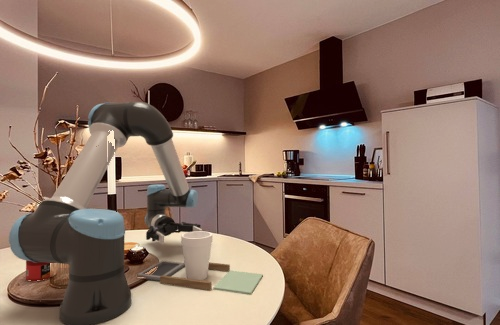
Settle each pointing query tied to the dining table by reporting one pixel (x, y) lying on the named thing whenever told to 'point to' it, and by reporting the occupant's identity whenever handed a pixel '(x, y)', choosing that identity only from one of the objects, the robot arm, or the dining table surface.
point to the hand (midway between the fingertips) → (183, 236)
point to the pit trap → (162, 270)
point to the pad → (239, 282)
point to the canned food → (37, 270)
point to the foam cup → (196, 253)
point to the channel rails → (191, 282)
